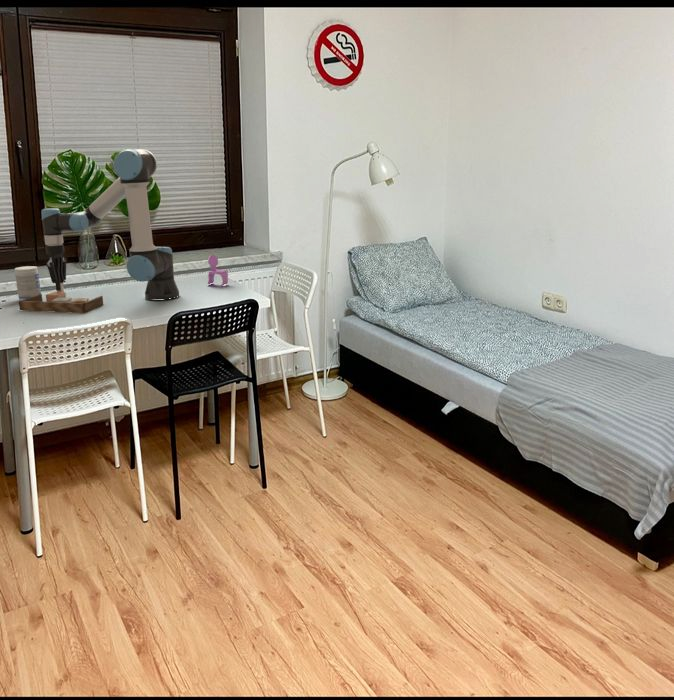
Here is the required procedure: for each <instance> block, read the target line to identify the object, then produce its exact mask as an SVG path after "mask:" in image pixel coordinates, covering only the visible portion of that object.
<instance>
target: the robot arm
mask: <svg viewBox="0 0 674 700" xmlns="http://www.w3.org/2000/svg"><path fill="white" fill-rule="evenodd" d="M157 163H158V162H157V158H156V156H155V155H154V154H153V153H152V152H151V151H150V150H147V149H141V148H138V149H134V148H133V149H130V148H129V149H124V150H121V151H120V152H118V153H117V154H116V155H115V157H114V160H113V170H114V173H115V175H117V176H118V178H117V179H116V180H115V181H114V182H113V183H112V184H111V185H110V186H108V187H107V188H106V189H105V190H104V191H103V192H102V193H101V194H100V195H99V196H98V197H97V198H96V199H95V200H94V201H93V202H92V203H91V204H89V206H87V208H86V209H84V210H83V211H78V212H73V213H64V212H63V213H61V212H60V211H61V210H60V209H59V208H57V207H55V208H53V207H51V208H50V207H49V208H43V209H41V221H42V228H43V235H44V236H43V237H44V244H45V252H46V254H47V255H48V261H46V262H45V265H46V267H47V269H48V274H49V277H50V280H51V283H52V284H55V289H56V292H65V289H64V288H65V287H64V286H65V285H64V283H66V280H67V262H68V259H67V257H64V253H66V252H65V245H64V242H65V241H64V235H63V232H76V233H78V232H79V233H80V232H85V231H87V229H93V228H95V227H98V226H100V224H101V223H102V219H103V218H105V216H107V215H108V214H109V213H110V212H111V211H112V210H113V209H114V208H115V207H116V206H117V205H119V204H120V203H121V202H122V201H123V199H125V198H126V205H127V206H126V207H127V213H128V222H129V223H128V224H129V231H130V239H131V244H132V245H131V247H130V248H129V249H128V250H129V258H128V260H127V261H126V271H127V273H128V275H129V276H130V277H131V278H132V279H133V280H135V281H137V282H141V283H142V282H147V283H146V287H145V291H144V298H147V299H169V298H174V297H177V296H179V297H180V290H179V288H178V286H177V282H176V281H175V275H174V274H175V272H174V270H175V269H174V259H173V258H174V257H173V255H174V254H173V249H172V248H171V247H170V246H155V245H154V240H153V232H152V224H151V215H150V208H149V207H150V206H149V205H150V204H149V197H148V189H147V186H148V185H149V184H150V178H151V177H152V176H153V175H154V174H155V173H156V170H157V165H158V164H157ZM147 299H146V300H147Z"/></svg>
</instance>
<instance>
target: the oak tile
mask: <svg viewBox="0 0 674 700" xmlns="http://www.w3.org/2000/svg"><path fill="white" fill-rule="evenodd" d="M87 301H90V300H89V297H81V298H80V297H78V298H77V297H76V298H72V301H71V303H85V302H87Z"/></svg>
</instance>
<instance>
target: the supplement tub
mask: <svg viewBox="0 0 674 700" xmlns="http://www.w3.org/2000/svg"><path fill="white" fill-rule="evenodd" d="M14 277H15V283H16V290H17V295H18V296H17V297H18V300H19V301H21V300H24V299H27V298H30V297H32V296H35V295H38V294H42V289H41V283H40V275H39V269H38V266H37V265H36V266H34V265H33V266H31V265H30V266H29V265H27V266H19V267H15V268H14Z"/></svg>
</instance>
